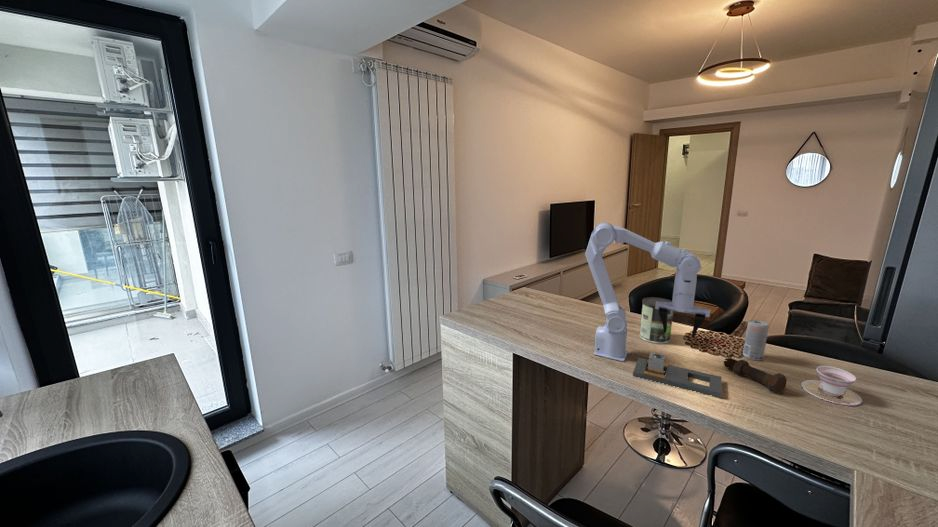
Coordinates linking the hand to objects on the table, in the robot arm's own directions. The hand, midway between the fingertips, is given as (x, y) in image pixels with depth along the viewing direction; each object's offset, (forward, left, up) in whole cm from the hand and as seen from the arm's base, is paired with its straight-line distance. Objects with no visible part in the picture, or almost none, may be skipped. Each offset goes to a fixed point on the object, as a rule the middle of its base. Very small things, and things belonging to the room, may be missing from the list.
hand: (678, 333), depth 116 cm
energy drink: (+21, +17, -10) cm, 29 cm away
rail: (+1, -11, -10) cm, 14 cm away
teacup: (+37, +3, -10) cm, 39 cm away
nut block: (-4, -11, -10) cm, 15 cm away
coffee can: (-8, +17, -10) cm, 21 cm away
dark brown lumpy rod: (+20, +1, -10) cm, 22 cm away
